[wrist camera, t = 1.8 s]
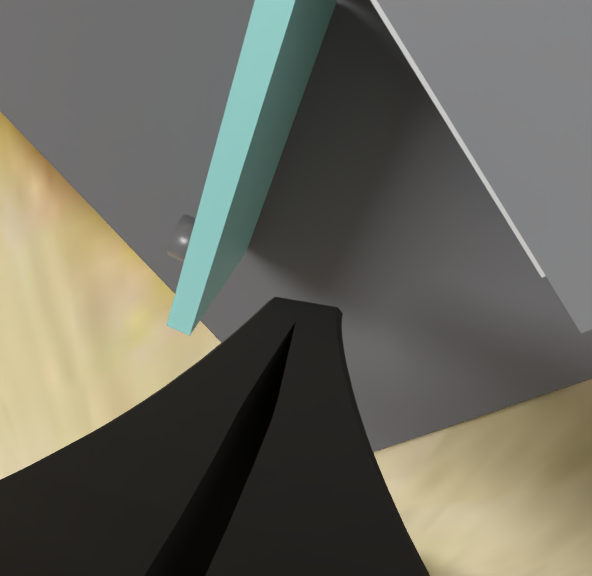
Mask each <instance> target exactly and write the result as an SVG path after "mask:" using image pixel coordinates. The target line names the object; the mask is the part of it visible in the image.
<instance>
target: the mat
mask: <svg viewBox="0 0 592 576" xmlns="http://www.w3.org/2000/svg"><path fill="white" fill-rule="evenodd" d="M254 2H255V0H0V111H1V112H2V113H3V114H4V115H5V117H6V118H7V119H8V120H9V121H10V122H11V123H12V124H13V125H14V126H15V127H16V128H17V129H18V130H19V131H20V132H21V133H22V134H23V135H24V136H25V137H26V138H27V140H28V141H29V142H30V143H31V144H32V145H33V146H34V147H35V148H36V149H37V150H38V151H39V152H40V153H41V154H42V155H43V156H44V157H45V158H46V159H47V160H48V162H49V163H50V164H51V165H52V166H53V167H54V168H55V169H56V170H57V171H58V172H59V173H60V174H61V175H62V176H63V177H64V178H65V179H66V180H67V181H68V182H69V183H70V185H71V186H72V187H73V188H74V189H75V190H76V191H77V192H78V193H79V194H80V195H81V196H82V197H83V198H84V199H85V200H86V201H87V202H88V203H89V204H90V205H91V206H92V208H93V209H94V210H95V211H96V212H97V213H98V214H99V215H100V216H101V217H102V218H103V219H104V220H105V221H106V222H107V223H108V224H109V225H110V226H111V227H112V228H113V229H114V231H115V232H116V233H117V234H118V235H119V236H120V237H121V238H122V239H123V240H124V241H125V242H126V243H127V244H128V245H129V246H130V247H131V248H132V249H133V250H134V251H135V253H136V254H137V255H138V256H139V257H140V258H141V259H142V260H143V261H144V262H145V263H146V264H147V265H148V266H149V267H150V268H151V269H152V270H153V271H154V272H155V273H156V274H157V276H158V277H159V278H160V279H161V280H162V281H163V282H164V283H165V284H166V285H167V286H168V287H169V288H170V289H171V290H172V291H173V292H174V293H176V289H177V286H178V282H179V278H180V275H181V271H182V267H183V264H184V262H183V261H181V260H178V259H176V258H174V257H172V256H169V255H168V254H167V246H168V242H169V239H170V236H171V234H172V231H173V229H174V227H175V226H176V224H177V222H178V221H179V219H180V218H181V217H182V216H183V215H185V214H187V215H189V216H191V217H193V218H196V216H197V212H198V208H199V205H200V201H201V197H202V193H203V190H204V186H205V182H206V179H207V175H208V171H209V168H210V164H211V160H212V157H213V153H214V149H215V146H216V142H217V138H218V134H219V131H220V127H221V123H222V120H223V116H224V112H225V109H226V105H227V101H228V98H229V94H230V90H231V87H232V83H233V79H234V75H235V72H236V68H237V64H238V61H239V57H240V53H241V50H242V46H243V42H244V39H245V35H246V31H247V27H248V24H249V20H250V16H251V13H252V9H253V5H254ZM274 297H281V298H286V299H292V300H298V301H304V302H310V303H316V304H322V305H328V306H334V307H338V308H339V309H340V310H341V312H342V313H343V316H342V338H343V346H344V352H345V358H346V363H347V368H348V372H349V376H350V380H351V384H352V388H353V392H354V396H355V399H356V403H357V406H358V410H359V413H360V416H361V419H362V422H363V425H364V428H365V431H366V434H367V437H368V440H369V442H370V445H371V448H372V451H373V452H374V451H377V450H380V449H383V448H386V447H389V446H392V445H395V444H398V443H401V442H404V441H407V440H410V439H413V438H416V437H419V436H422V435H425V434H428V433H431V432H434V431H437V430H440V429H443V428H446V427H449V426H452V425H455V424H458V423H461V422H464V421H467V420H470V419H473V418H476V417H479V416H482V415H485V414H488V413H490V412H493V411H496V410H499V409H502V408H505V407H508V406H511V405H514V404H517V403H520V402H523V401H526V400H529V399H532V398H535V397H538V396H541V395H544V394H547V393H550V392H553V391H556V390H559V389H562V388H565V387H568V386H571V385H574V384H577V383H580V382H583V381H586V380H589V379H592V329H591V330H589V331H586V332H584V333H581V332H580V331H579V329H578V328H577V326H576V324H575V323H574V321H573V319H572V318H571V316H570V315H569V313H568V311H567V310H566V308H565V306H564V305H563V303H562V302H561V300H560V298H559V297H558V295H557V293H556V292H555V290H554V288H553V287H552V285H551V284H550V282H549V280H548V279H547V277H546V276H545V277H541V276H540V274H539V272H538V271H537V269H536V268H535V266H534V264H533V263H532V261H531V259H530V258H529V256H528V255H527V253H526V251H525V250H524V248H523V247H522V245H521V243H520V242H519V240H518V238H517V237H516V235H515V234H514V232H513V230H512V229H511V227H510V226H509V224H508V222H507V221H506V219H505V217H504V216H503V214H502V213H501V211H500V209H499V208H498V206H497V204H496V203H495V201H494V200H493V198H492V196H491V195H490V193H489V192H488V190H487V188H486V187H485V185H484V183H483V182H482V180H481V179H480V177H479V175H478V174H477V172H476V171H475V169H474V167H473V166H472V164H471V162H470V161H469V159H468V158H467V156H466V154H465V153H464V151H463V149H462V148H461V146H460V145H459V143H458V141H457V140H456V138H455V137H454V135H453V133H452V132H451V130H450V128H449V127H448V125H447V124H446V122H445V120H444V119H443V117H442V115H441V114H440V112H439V111H438V109H437V107H436V106H435V104H434V103H433V101H432V99H431V98H430V96H429V94H428V93H427V91H426V90H425V88H424V86H423V85H422V83H421V82H420V80H419V78H418V77H417V75H416V73H415V72H414V70H413V69H412V67H411V65H410V64H409V62H408V60H407V59H406V57H405V56H404V54H403V52H402V51H401V49H400V48H399V46H398V44H397V43H396V41H395V39H394V38H393V36H392V35H391V33H390V31H389V30H388V28H387V27H386V25H385V23H384V22H383V20H382V18H381V17H380V15H379V14H378V12H377V10H376V9H375V7H374V5H373V4H372V2H371V1H370V0H337V2H336V5H335V8H334V11H333V14H332V16H331V19H330V22H329V25H328V27H327V30H326V33H325V36H324V38H323V41H322V44H321V47H320V49H319V52H318V55H317V58H316V61H315V63H314V66H313V69H312V72H311V74H310V77H309V80H308V83H307V85H306V88H305V91H304V94H303V96H302V99H301V102H300V105H299V107H298V110H297V113H296V116H295V119H294V121H293V124H292V127H291V130H290V132H289V135H288V138H287V141H286V143H285V146H284V149H283V152H282V154H281V157H280V160H279V163H278V166H277V168H276V171H275V174H274V177H273V179H272V182H271V185H270V188H269V190H268V193H267V196H266V199H265V201H264V204H263V207H262V210H261V212H260V215H259V218H258V221H257V224H256V226H255V229H254V232H253V235H252V237H251V240H250V243H249V246H248V248H247V251H246V253H245V254H244V255H243V257H242V258H241V260H240V261H239V263H238V264H237V266H236V267H235V269H234V270H233V272H232V273H231V275H230V276H229V278H228V279H227V281H226V282H225V284H224V285H223V287H222V288H221V290H220V291H219V293H218V294H217V296H216V297H215V299H214V300H213V302H212V303H211V305H210V306H209V308H208V309H207V311H206V312H205V313H204V315H203V316H202V318H201V319H200V320H201V322H202V323H203V324H204V325H205V326H206V327H207V328H208V329H209V330H210V331H211V332H212V333H213V334H214V335H215V336H216V337H217V338H218V339H219V340H220V341H221V342H223V341H224V340H226V339H227V338H228V337H229V336H230V335H232V334H233V333H234V332H235V331H236V330H237V329H239V328H240V327H241V326H242V325H243V324H244V323H245V322H246V321H248V320H249V319H250V318H251V317H252V316H253V315H254V314H255V313H256V312H257V311H259V310H260V309H261V308H262V307H263V306H264V305H265V304H266V303H267V302H268V301H269V300H271V299H272V298H274Z"/></svg>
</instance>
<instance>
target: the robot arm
mask: <svg viewBox="0 0 592 576" xmlns="http://www.w3.org/2000/svg"><path fill="white" fill-rule="evenodd" d="M342 316H343V313H342V312H341V310H340V309H339V308H338V307H334V306H328V305H322V304H316V303H310V302H304V301H298V300H292V299H286V298H281V297H274V298H272V299H271V300H269V301H268V302H267V303H266V304H265V305H264V306H263V307H262V308H261V309H260V310H259V311H257V312H256V313H255V314H254V315H253V316H252V317H251V318H250V319H249V320H248V321H246V322H245V323H244V324H243V325H242V326H241V327H240V328H239V329H237V330H236V331H235V332H234V333H233V334H232V335H230V336H229V337H228V338H227V339H226V340H224V341H223V342H222V343H221V344H220V345H218V346H217V347H216V348H215V349H214V350H212V351H211V352H210V353H209V354H208V355H206V356H205V357H204V358H202V359H201V360H200V361H199V362H197V363H196V364H195V365H193V366H192V367H191V368H189V369H188V370H186V371H185V372H184V373H182V374H181V375H180V376H178V377H177V378H176V379H174V380H173V381H172V382H170V383H169V384H167V385H166V386H165V387H163V388H162V389H160V390H159V391H157V392H156V393H155V394H153V395H152V396H150V397H149V398H147V399H146V400H144V401H143V402H141V403H139V404H138V405H136V406H135V407H133V408H132V409H130V410H128V411H127V412H125V413H124V414H122V415H120V416H119V417H117V418H116V419H114V420H112V421H111V422H109V423H107V424H106V425H104V426H102V427H101V428H99V429H97V430H95V431H93V432H92V433H90V434H88V435H86V436H84V437H83V438H81V439H79V440H77V441H75V442H73V443H71V444H70V445H68V446H66V447H64V448H62V449H60V450H58V451H56V452H55V453H53V454H51V455H49V456H47V457H45V458H43V459H41V460H39V461H38V462H36V463H34V464H32V465H30V466H28V467H26V468H24V469H22V470H20V471H18V472H16V473H14V474H12V475H9V476H7V477H5V478H3V479H1V480H0V576H430V575H429V573H428V571H427V569H426V567H425V565H424V563H423V561H422V560H421V558H420V556H419V554H418V552H417V550H416V548H415V546H414V544H413V542H412V540H411V538H410V536H409V534H408V532H407V530H406V528H405V526H404V524H403V522H402V519H401V517H400V515H399V513H398V510H397V508H396V506H395V504H394V502H393V499H392V497H391V495H390V493H389V490H388V488H387V486H386V483H385V481H384V478H383V476H382V473H381V471H380V469H379V466H378V464H377V461H376V459H375V456H374V453H373V451H372V448H371V445H370V442H369V440H368V437H367V434H366V431H365V428H364V425H363V422H362V419H361V416H360V413H359V410H358V406H357V403H356V399H355V396H354V392H353V388H352V384H351V380H350V376H349V372H348V368H347V363H346V358H345V352H344V346H343V338H342Z"/></svg>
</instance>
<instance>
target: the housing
mask: <svg viewBox="0 0 592 576" xmlns="http://www.w3.org/2000/svg"><path fill="white" fill-rule="evenodd" d="M370 1H371V2H372V4H373V5H374V7H375V9H376V10H377V12H378V14H379V15H380V17H381V18H382V20H383V22H384V23H385V25H386V27H387V28H388V30H389V31H390V33H391V35H392V36H393V38H394V39H395V41H396V43H397V44H398V46H399V48H400V49H401V51H402V52H403V54H404V56H405V57H406V59H407V60H408V62H409V64H410V65H411V67H412V69H413V70H414V72H415V73H416V75H417V77H418V78H419V80H420V82H421V83H422V85H423V86H424V88H425V90H426V91H427V93H428V94H429V96H430V98H431V99H432V101H433V103H434V104H435V106H436V107H437V109H438V111H439V112H440V114H441V115H442V117H443V119H444V120H445V122H446V124H447V125H448V127H449V128H450V130H451V132H452V133H453V135H454V137H455V138H456V140H457V141H458V143H459V145H460V146H461V148H462V149H463V151H464V153H465V154H466V156H467V158H468V159H469V161H470V162H471V164H472V166H473V167H474V169H475V171H476V172H477V174H478V175H479V177H480V179H481V180H482V182H483V183H484V185H485V187H486V188H487V190H488V192H489V193H490V195H491V196H492V198H493V200H494V201H495V203H496V204H497V206H498V208H499V209H500V211H501V213H502V214H503V216H504V217H505V219H506V221H507V222H508V224H509V226H510V227H511V229H512V230H513V232H514V234H515V235H516V237H517V238H518V240H519V242H520V243H521V245H522V247H523V248H524V250H525V251H526V253H527V255H528V256H529V258H530V259H531V261H532V263H533V264H534V266H535V268H536V269H537V271H538V272H539V274H540V276H541V277H545V276H546V277H547V279H548V280H549V282H550V284H551V285H552V287H553V288H554V290H555V292H556V293H557V295H558V297H559V298H560V300H561V302H562V303H563V305H564V306H565V308H566V310H567V311H568V313H569V315H570V316H571V318H572V319H573V321H574V323H575V324H576V326H577V328H578V329H579V331H580V332H581V333H584V332H586V331H589V330H591V329H592V0H370Z"/></svg>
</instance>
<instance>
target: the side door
mask: <svg viewBox="0 0 592 576" xmlns="http://www.w3.org/2000/svg"><path fill="white" fill-rule="evenodd" d="M336 2H337V0H255V2H254V5H253V9H252V13H251V16H250V20H249V24H248V27H247V31H246V35H245V39H244V42H243V46H242V50H241V53H240V57H239V61H238V64H237V68H236V72H235V75H234V79H233V83H232V87H231V90H230V94H229V98H228V101H227V105H226V109H225V112H224V116H223V120H222V123H221V127H220V131H219V134H218V138H217V142H216V146H215V149H214V153H213V157H212V160H211V164H210V168H209V171H208V175H207V179H206V182H205V186H204V190H203V193H202V197H201V201H200V205H199V208H198V212H197V216H196V218H193V217H191V216H189V215H187V214H185V215H183V216H182V217H181V218H180V219H179V221H178V222H177V224H176V226H175V227H174V229H173V231H172V234H171V236H170V239H169V242H168V246H167V254H168V255H169V256H172V257H174V258H176V259H178V260H181V261H183V262H184V264H183V267H182V271H181V275H180V278H179V282H178V286H177V289H176V293H175V297H174V300H173V304H172V308H171V312H170V315H169V319H168V323H167V326H169V327H171V328H173V329H176V330H178V331H180V332H182V333H185V334H187V335H189V336H190V334H191V333H192V331H193V330H194V328H195V327H196V325H197V324H198V322H199V321H200V319H201V318H202V316H203V315H204V313H205V312H206V311H207V309H208V308H209V306H210V305H211V303H212V302H213V300H214V299H215V297H216V296H217V294H218V293H219V291H220V290H221V288H222V287H223V285H224V284H225V282H226V281H227V279H228V278H229V276H230V275H231V273H232V272H233V270H234V269H235V267H236V266H237V264H238V263H239V261H240V260H241V258H242V257H243V255H244V254H245V253H246V251H247V248H248V246H249V243H250V240H251V237H252V235H253V232H254V229H255V226H256V224H257V221H258V218H259V215H260V212H261V210H262V207H263V204H264V201H265V199H266V196H267V193H268V190H269V188H270V185H271V182H272V179H273V177H274V174H275V171H276V168H277V166H278V163H279V160H280V157H281V154H282V152H283V149H284V146H285V143H286V141H287V138H288V135H289V132H290V130H291V127H292V124H293V121H294V119H295V116H296V113H297V110H298V107H299V105H300V102H301V99H302V96H303V94H304V91H305V88H306V85H307V83H308V80H309V77H310V74H311V72H312V69H313V66H314V63H315V61H316V58H317V55H318V52H319V49H320V47H321V44H322V41H323V38H324V36H325V33H326V30H327V27H328V25H329V22H330V19H331V16H332V14H333V11H334V8H335V5H336Z"/></svg>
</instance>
